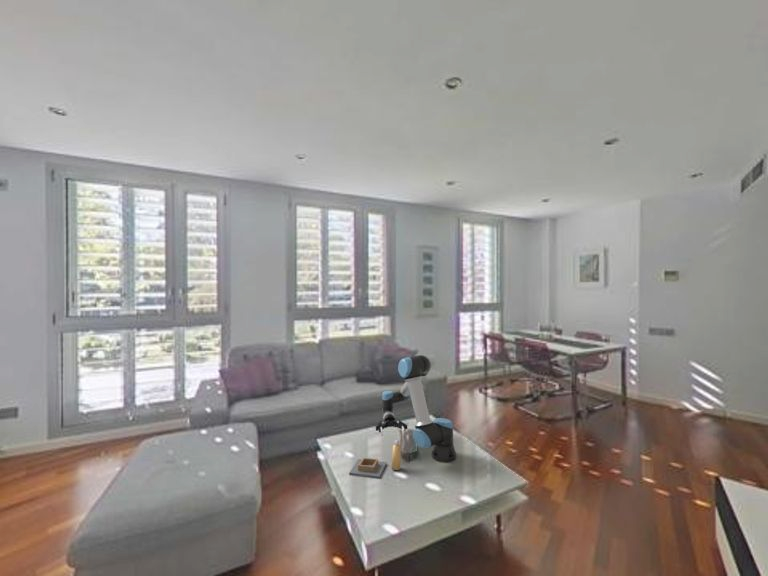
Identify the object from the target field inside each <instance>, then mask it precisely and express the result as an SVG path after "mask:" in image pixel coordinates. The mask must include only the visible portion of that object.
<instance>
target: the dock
mask: <svg viewBox="0 0 768 576" xmlns="http://www.w3.org/2000/svg"><path fill="white" fill-rule="evenodd" d="M386 466H387V462H385V461H379V459H378V458H370V457H362V459H360V458H358V459H357V461H356V462H355V463H354V464H353V466H352V468H351V470H350V471H349V476H356V477H357V476H359V477H365V478H375V479H380V478H381V476H382V474H383V472H384V470H385V468H386Z"/></svg>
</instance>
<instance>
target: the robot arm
mask: <svg viewBox="0 0 768 576" xmlns="http://www.w3.org/2000/svg"><path fill="white" fill-rule="evenodd" d="M431 363H432V362H431V360H430V359H429V358H428V357H427V356H425V355H421V354H419V355H415V356H407V357H404V358H402V359H400V360H399V362H398V365H397V366H398V367H397V370H398V373H399V375H400V377H401V378H403V379H404V380H403V381H404V384H403V385H402V386H401V388H400V389H399V391H396V392H395V391H393V390H384V391H383V392H382V396H381V397H382V398H381V399H382V408H381V409H382V411H381V414H382V418H383V421H382V420H380V421H379V423H378V424H377V425H375V431H377V432H378V433H380V435H381V437H383V436H384V434H383V433H384V432H383V430H384V429H387V428H398V429H401V432H402V434H403V435H405V433H406V430H408V424H407V423H405V422H403V421H402V420H401V419H399V420H396V418H395V414H394V404H400V403H402V402H407V401H409V400H411V405H412V407H413V414H414V417H415V421H416V422H415V425H414V430H413V432H412V437H413V438H412V439H413V440H414V443H415V444H416V446H418V447H419V448H421V449H427V448H431V447H432V450H431V457H432V459H434V460H435V461H437V462H441V463H450V462H454V461H455V460H456V459H457V451H456V448H455V445H454V426H453V422H452V420H450V419H449V418H444V417H437V418H434V420H432V419H431V417H430V412H429V409H428V405H427V400H426V396H425V392H424V388H423V384H422V379H423V378H424V377H426V376H428V374H429V372H430V371H431V368H432V364H431Z"/></svg>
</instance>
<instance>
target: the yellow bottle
mask: <svg viewBox="0 0 768 576" xmlns="http://www.w3.org/2000/svg"><path fill="white" fill-rule="evenodd" d="M391 456H392V458H391V469H392V470H394V471H399V470H401V461H402V460H401V459H402V458H401V457H402V444H400V440H398V439H397V440H394V444H392V455H391Z"/></svg>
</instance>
